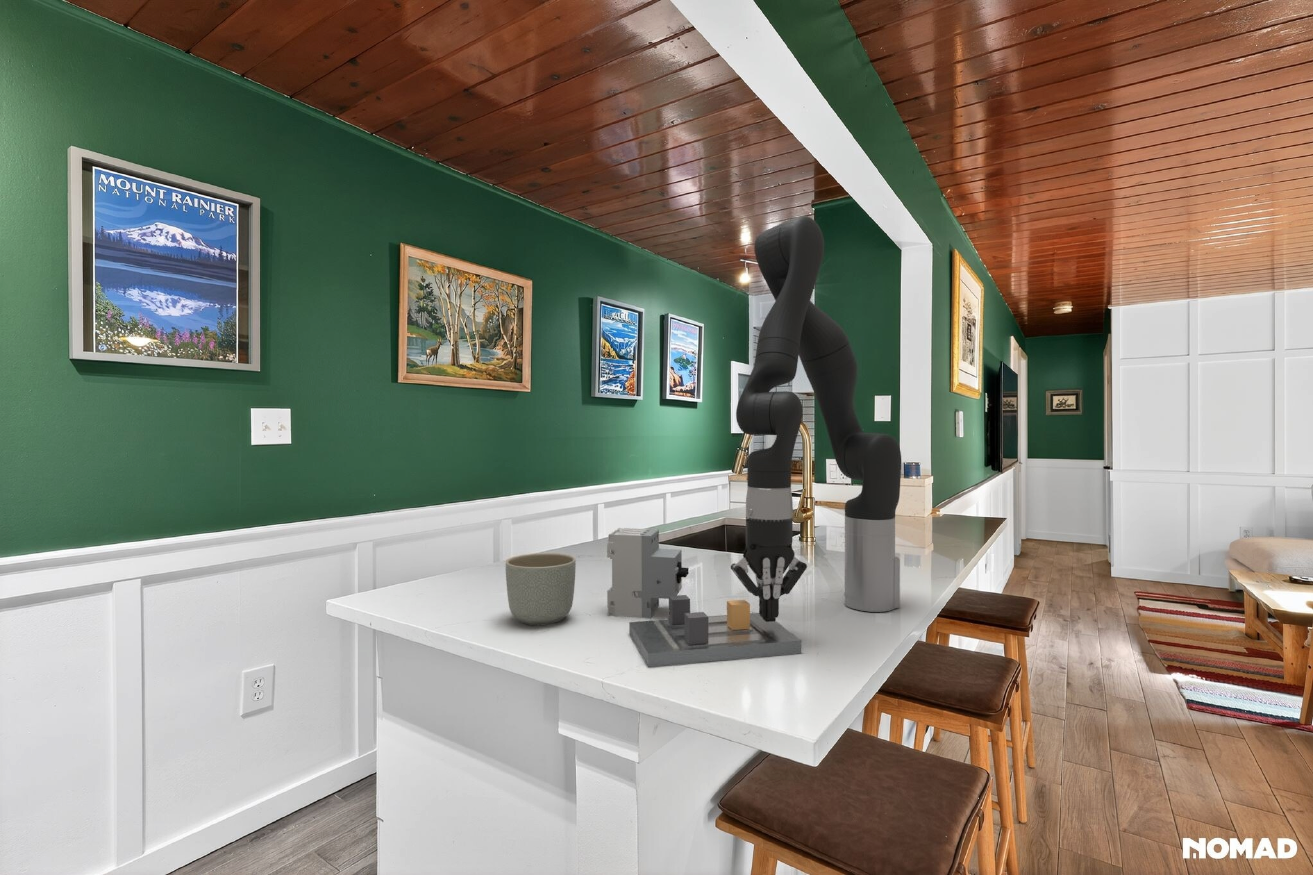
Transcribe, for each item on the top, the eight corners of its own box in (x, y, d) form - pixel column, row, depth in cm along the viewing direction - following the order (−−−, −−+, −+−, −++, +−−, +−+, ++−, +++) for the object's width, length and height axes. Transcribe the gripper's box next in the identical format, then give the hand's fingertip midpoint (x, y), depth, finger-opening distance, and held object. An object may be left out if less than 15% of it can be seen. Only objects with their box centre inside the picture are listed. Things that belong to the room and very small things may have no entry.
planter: (588, 614, 118) (588, 556, 118) (550, 634, 107) (549, 570, 107) (533, 606, 124) (533, 550, 123) (491, 625, 112) (490, 563, 112)
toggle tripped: (744, 623, 105) (744, 599, 105) (750, 628, 103) (750, 603, 103) (726, 625, 105) (726, 600, 104) (732, 630, 102) (732, 605, 102)
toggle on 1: (685, 618, 108) (685, 594, 108) (690, 623, 106) (690, 599, 106) (668, 619, 108) (668, 596, 107) (672, 624, 105) (672, 600, 105)
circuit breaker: (684, 620, 115) (684, 536, 114) (607, 615, 118) (607, 534, 117) (690, 608, 122) (690, 530, 122) (618, 604, 125) (617, 527, 125)
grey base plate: (763, 623, 113) (763, 611, 113) (801, 653, 98) (801, 639, 98) (629, 633, 107) (629, 620, 107) (648, 667, 93) (648, 651, 93)
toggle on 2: (703, 637, 98) (703, 611, 98) (708, 643, 96) (708, 616, 96) (684, 639, 98) (684, 613, 98) (689, 644, 95) (689, 618, 95)
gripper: (796, 510, 109) (796, 611, 110) (722, 512, 106) (722, 616, 107) (817, 516, 102) (816, 624, 102) (738, 519, 99) (738, 630, 99)
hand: (768, 620), depth 105 cm, fingers closed
